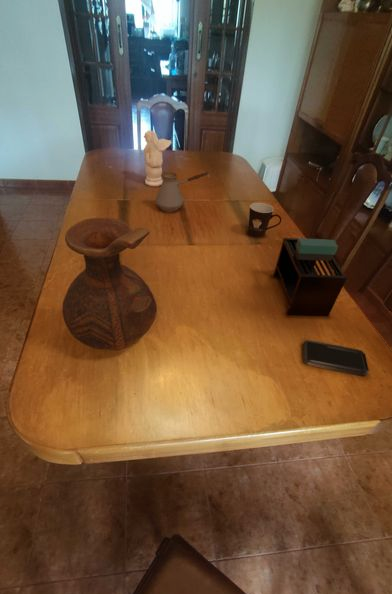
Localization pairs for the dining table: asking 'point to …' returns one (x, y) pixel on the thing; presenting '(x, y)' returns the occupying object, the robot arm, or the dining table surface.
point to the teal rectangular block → (315, 249)
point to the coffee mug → (260, 219)
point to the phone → (335, 358)
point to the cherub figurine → (154, 158)
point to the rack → (307, 282)
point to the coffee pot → (172, 191)
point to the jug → (107, 287)
